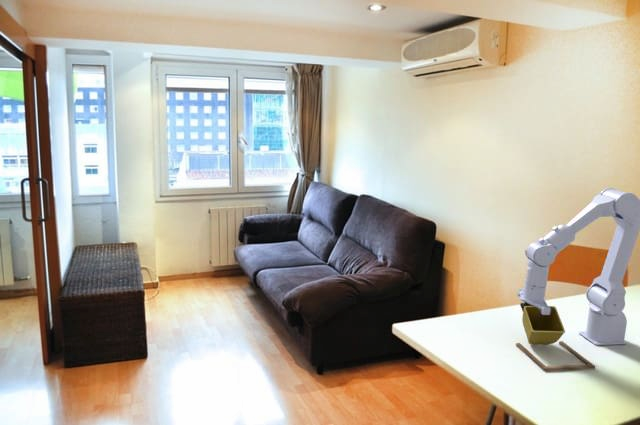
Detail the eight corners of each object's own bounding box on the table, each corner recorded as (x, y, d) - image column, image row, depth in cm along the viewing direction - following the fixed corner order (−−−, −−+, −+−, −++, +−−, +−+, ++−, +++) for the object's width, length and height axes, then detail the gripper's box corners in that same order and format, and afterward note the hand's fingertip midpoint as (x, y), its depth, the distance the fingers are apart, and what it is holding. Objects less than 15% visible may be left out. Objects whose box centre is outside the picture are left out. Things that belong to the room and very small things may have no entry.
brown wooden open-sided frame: (562, 343, 138) (562, 341, 138) (594, 368, 124) (595, 366, 124) (515, 345, 136) (516, 343, 136) (543, 371, 123) (544, 368, 123)
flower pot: (557, 351, 135) (565, 332, 129) (524, 350, 135) (532, 331, 130) (547, 325, 141) (555, 305, 136) (516, 325, 142) (523, 305, 136)
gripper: (510, 275, 145) (504, 317, 148) (535, 293, 131) (529, 339, 134) (532, 275, 146) (526, 317, 148) (560, 293, 132) (553, 339, 134)
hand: (529, 328), depth 141 cm, fingers closed, pressing on flower pot
